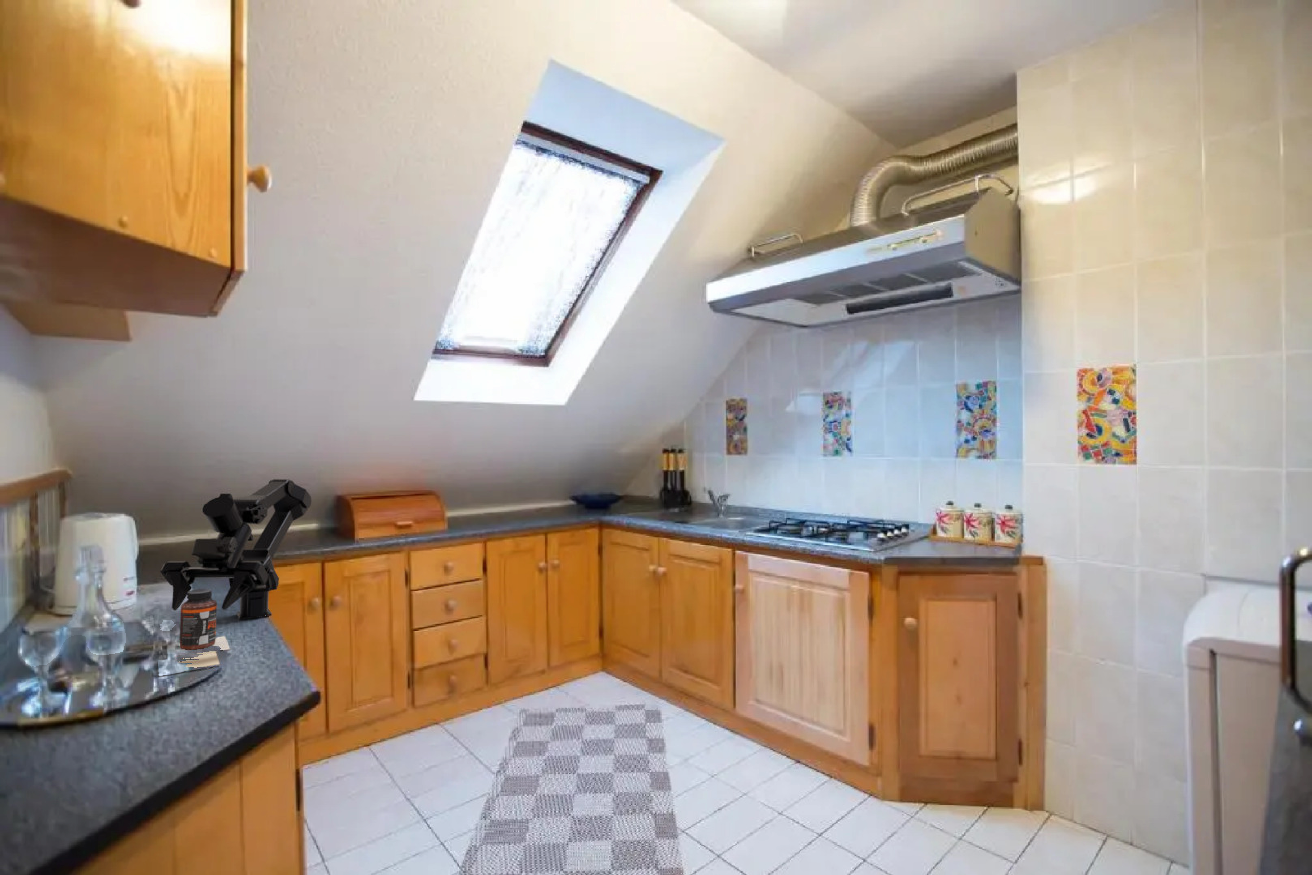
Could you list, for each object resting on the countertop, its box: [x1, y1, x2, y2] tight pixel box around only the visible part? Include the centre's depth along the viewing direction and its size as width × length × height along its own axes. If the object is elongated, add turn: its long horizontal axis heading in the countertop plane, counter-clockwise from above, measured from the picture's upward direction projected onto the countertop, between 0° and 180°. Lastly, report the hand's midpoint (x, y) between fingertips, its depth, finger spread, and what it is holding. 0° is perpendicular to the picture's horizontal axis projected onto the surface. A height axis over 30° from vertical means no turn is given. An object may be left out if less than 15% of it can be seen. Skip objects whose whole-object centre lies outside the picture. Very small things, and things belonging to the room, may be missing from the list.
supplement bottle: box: [179, 588, 218, 650], centre depth 128 cm, size 6×6×11 cm
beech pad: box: [179, 651, 221, 668], centre depth 118 cm, size 9×9×1 cm
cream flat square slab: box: [212, 635, 231, 651], centre depth 128 cm, size 10×10×1 cm
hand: (198, 609), depth 128 cm, fingers open, 9 cm apart
